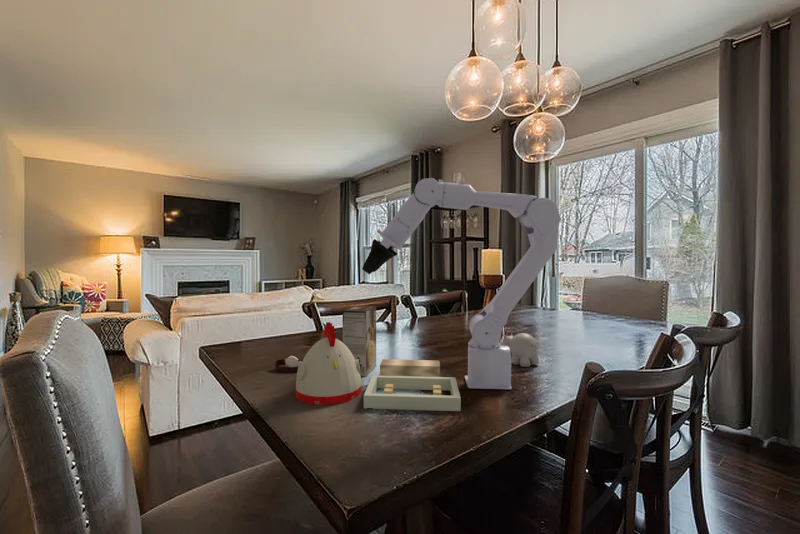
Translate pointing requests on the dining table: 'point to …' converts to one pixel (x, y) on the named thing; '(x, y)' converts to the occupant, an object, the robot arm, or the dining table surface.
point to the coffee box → (361, 335)
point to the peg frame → (409, 400)
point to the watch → (288, 364)
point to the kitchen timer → (328, 372)
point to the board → (410, 368)
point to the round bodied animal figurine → (522, 349)
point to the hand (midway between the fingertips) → (368, 270)
